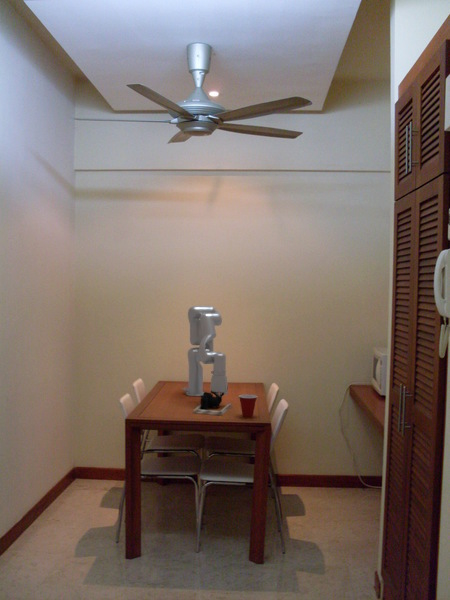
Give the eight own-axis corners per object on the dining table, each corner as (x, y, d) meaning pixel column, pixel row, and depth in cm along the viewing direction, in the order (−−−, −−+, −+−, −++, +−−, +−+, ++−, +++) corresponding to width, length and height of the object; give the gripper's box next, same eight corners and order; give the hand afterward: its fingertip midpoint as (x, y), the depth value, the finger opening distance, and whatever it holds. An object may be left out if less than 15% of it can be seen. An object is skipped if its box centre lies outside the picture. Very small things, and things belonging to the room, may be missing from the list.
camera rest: (193, 413, 316) (193, 409, 316) (204, 404, 337) (204, 401, 337) (221, 415, 311) (221, 412, 311) (231, 406, 333) (231, 403, 333)
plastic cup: (256, 413, 317) (256, 393, 316) (258, 418, 306) (258, 397, 305) (237, 413, 316) (238, 393, 316) (238, 418, 305) (239, 397, 305)
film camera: (214, 410, 320) (214, 395, 320) (199, 410, 323) (198, 395, 323) (222, 404, 335) (221, 390, 334) (207, 404, 337) (206, 390, 337)
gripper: (206, 373, 332) (205, 403, 332) (229, 375, 328) (229, 405, 329) (209, 371, 339) (209, 401, 340) (232, 373, 335) (232, 402, 336)
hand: (219, 403), depth 334 cm, fingers closed
